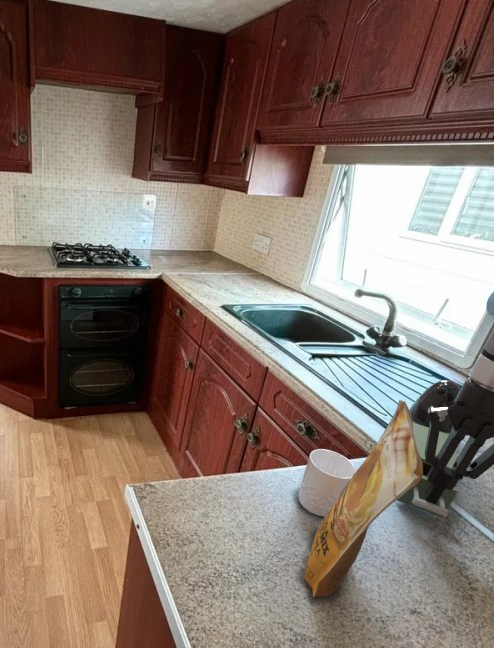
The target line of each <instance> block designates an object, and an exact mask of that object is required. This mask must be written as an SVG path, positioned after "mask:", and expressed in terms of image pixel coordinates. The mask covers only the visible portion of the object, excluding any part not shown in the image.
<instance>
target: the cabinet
mask: <svg viewBox="0 0 494 648" xmlns="http://www.w3.org/2000/svg"><path fill="white" fill-rule="evenodd" d="M428 430H429V428H428V427H425V426H422V425H419V424H416V423H413V434H414V438H415V442H416V446H417V450H418V452H419V455H420V457H421V459H422V462H424V463H426V464H429V465H432V464H430V463H427V462H426V460H425V448H426V442H427V436H428ZM448 436H449V434H446V433H443V432H439V437H438V443H437V448H436V453H435V455H436V456H437V455H438V453H439V451H440V450H441V448H442V446H443V444H444V443H445V441H446V439H447V438H448ZM457 457H458V454H457V452H456V451H455V452H454V454H453V456H452V457H451V459H450V461H449V462H448V464H447V466H446V467H449V468H451V469H452V465H453V464H454V462H455V460H456V459H457Z"/></svg>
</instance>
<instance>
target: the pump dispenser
mask: <svg viewBox="0 0 494 648" xmlns="http://www.w3.org/2000/svg"><path fill="white" fill-rule="evenodd" d="M461 388H462V387H460V385H459V384H458V383H456V382H455V381H452V380H448V379H442V380H439V381H437V382H435V383H433V384H431V385H430V386H429V387H427V388H426V389H425V390H424V391H423V392H422V393H421V394H420V395H419V396H418V397H417V398H416V399H415V401H414V402H413V403H412V405H411V406H410V408H408V409H409V411H410V413H411V416H412V422H413V423H416V424H419V425H422V426H425V427H428V428H429V425H430V418H429V414H428V408H429V407H431V406H433V407H435V408H443V407H447V405H448V404H449V403H451V402H452V401H454V400H455V399H456V397H457V395H458V393H459V391H460V389H461ZM452 427H453V426H452V423H451V420H450V418H449V415H446V416H445V420H444V421H441V422H440V432H443V433H446V434H450V432H451V430H452Z"/></svg>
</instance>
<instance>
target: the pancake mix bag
mask: <svg viewBox="0 0 494 648" xmlns="http://www.w3.org/2000/svg"><path fill="white" fill-rule="evenodd" d="M409 409H410V408H409V407H408V404H407V402H406V401H405V400H400V399H399V400H398V404H397V407H396V409H395V411H394V414H393V415H392V417H391V419H390V421H389V422H388V424H387V425H386V428H385V429H384V431H383V433H382V434H381V436H380V437H379V440H378V441H377V443H376V444H375V445H374V447H373V449H372V450H371V452H370V453H369V454H368V455H367V457H366V458H365V460H364V461H363V462H362V463H361V465H360V466H359V467H358V468H357V469H356V470H357V471H356V472H355V474H354V475H353V477H352V478H351V479H350V481H349V482H348V484H347V485H346V486H345V488H344V489H343V491H342V492H341V494H340V495H339V497H338V498H337V500H336V501H335V503H334V504H333V506H332V507H331V509H330V510H329V512H328V513H327V515H326V516H323V517H324V518H322V520H321V522H320V523H319V525H318V527H317V530H316V533H315V535H314V539H313V541H312V545H311V548H310V552H309V556H308V558H307V559H308V560H307V562H306V564H305V571H304V580H303V581H304V582H305V583H306V584H307V585H308V586H309V587H310V589H312V598H319V597H329V596H331V595H332V594H334V593H335V592H336V591H337V589H338V588H339V586H340V585H341V583H342V582H343V580H344V579H345V577H346V576H347V575H348V573H349V572H350V569H351V568H352V567H353V565H354V564H355V562H356V560H357V558H358V556H359V554H360V551H361V549H362V547H363V544H364V541H365V538H366V536H367V533H368V529H369V527H370V526H371V524H373V522H374V521H375V520H376V519H377V518H378V517H379V516H380V515H381V514H382V513H383V512H384V511H385V510H386V509H387V508H389V507H390V506H391V505H392V504H394V503H395V502H397V499H399V498H400V497H401V496H403V495H404V494H405V493H406V492H407V491H408V490H409V489H411V488H412V487H414V486H416V485H417V484H418V482H419V481H420V479H421V478H422V476H423V463H422V459H421V457H420V455H419V452H418V450H417V446H416V442H415V438H414V434H413V422H412V416H411V413H410V411H409Z"/></svg>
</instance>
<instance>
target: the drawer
mask: <svg viewBox="0 0 494 648" xmlns="http://www.w3.org/2000/svg"><path fill="white" fill-rule="evenodd" d="M422 463H423V476H422V478H421V479H420V481H419V482H418V484H417V485H416V486H414V487H412V488H411V489H409V490H408V491H407V492H406V493H405V494H404V495H403V496H401V497H400V498H399V499H397V500H396V502H400V503H402V504H405V505H407V506H410V507H412V508H415V509H417V510H419V511H422V512H425V513H428V514H430V515H432V516H434V517H437V518H440V519H443V518H446V517H447V516H448V514H449V510H448V509H449V507H450V505H451V504H452V502H453V501H454V499H456V496H457V494H458V493H459V490H458V487H456V486H455V487H454V488H453V489H452V490H448V489H445V490H444V492H443V493H442V495H441V497H440V498H439V500H438V501H437V503H436V504H434V503H431V502H429V501H426V496H425V491H426V489H427V488H428V486H429V484H430V482H428V480H427V474H428V473H429V471H430V469H431V467H432V465H429V464H426V463H424V462H422Z"/></svg>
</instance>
